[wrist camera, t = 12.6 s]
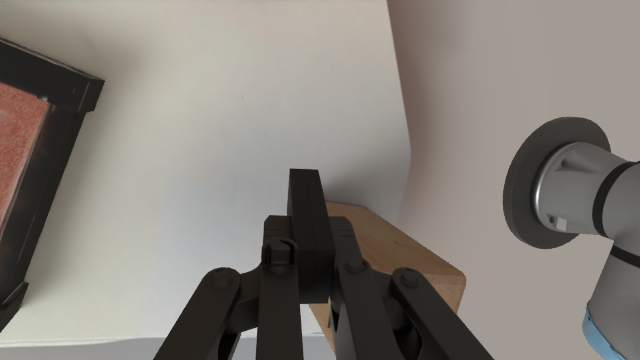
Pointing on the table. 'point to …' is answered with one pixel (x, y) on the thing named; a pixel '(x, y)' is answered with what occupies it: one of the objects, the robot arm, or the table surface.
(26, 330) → the table surface
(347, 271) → the robot arm
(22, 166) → the book
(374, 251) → the wooden block
